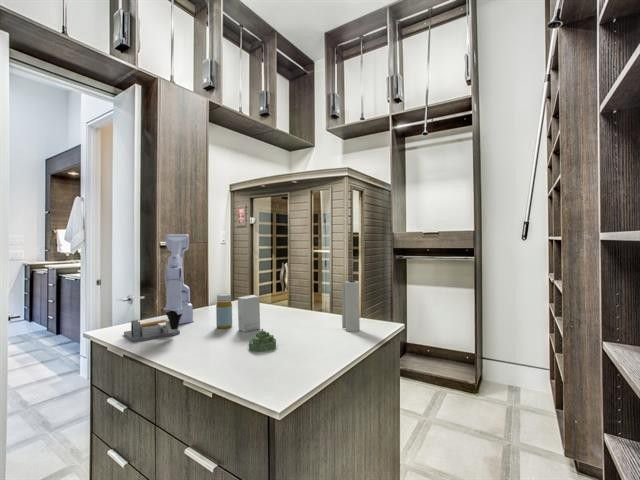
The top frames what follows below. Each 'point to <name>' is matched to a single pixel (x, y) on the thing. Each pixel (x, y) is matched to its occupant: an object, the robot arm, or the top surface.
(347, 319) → the tall grey block
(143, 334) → the grey workpiece holding fixture
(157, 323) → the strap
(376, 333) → the top surface
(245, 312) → the skincare box
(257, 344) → the decorative artifact
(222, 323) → the bottle
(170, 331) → the clip
